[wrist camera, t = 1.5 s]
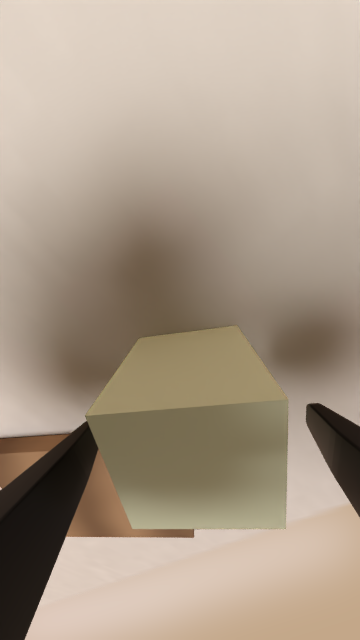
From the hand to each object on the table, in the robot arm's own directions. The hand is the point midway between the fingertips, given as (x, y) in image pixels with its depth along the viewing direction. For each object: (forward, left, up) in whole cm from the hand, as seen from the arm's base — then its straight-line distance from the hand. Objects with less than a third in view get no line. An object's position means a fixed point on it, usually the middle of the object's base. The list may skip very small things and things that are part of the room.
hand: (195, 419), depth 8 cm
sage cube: (0, 0, -3) cm, 3 cm away
